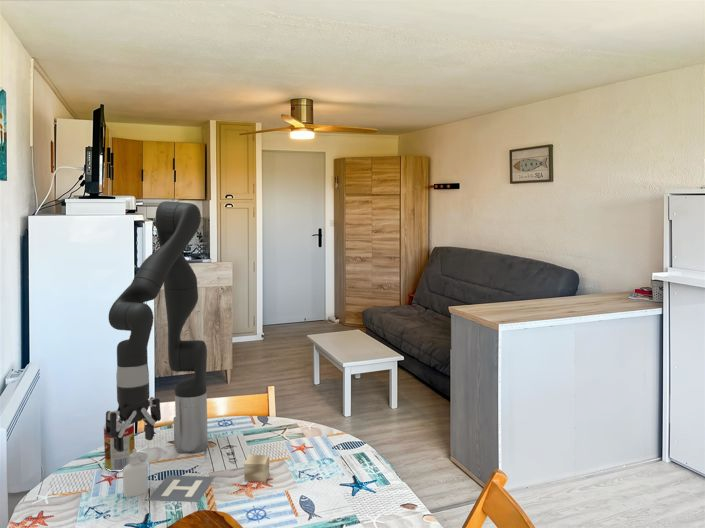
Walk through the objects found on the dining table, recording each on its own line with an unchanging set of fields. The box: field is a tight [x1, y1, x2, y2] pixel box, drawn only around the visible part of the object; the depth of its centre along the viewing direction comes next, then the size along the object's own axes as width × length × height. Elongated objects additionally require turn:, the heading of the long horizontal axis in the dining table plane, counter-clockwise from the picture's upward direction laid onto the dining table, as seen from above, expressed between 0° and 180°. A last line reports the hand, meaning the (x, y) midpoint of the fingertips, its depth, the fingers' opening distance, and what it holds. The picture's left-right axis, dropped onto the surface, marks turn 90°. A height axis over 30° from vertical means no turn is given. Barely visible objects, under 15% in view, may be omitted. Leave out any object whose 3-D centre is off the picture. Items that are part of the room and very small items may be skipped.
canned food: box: [103, 419, 136, 470], centre depth 154 cm, size 8×8×12 cm
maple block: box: [243, 454, 270, 485], centre depth 147 cm, size 6×6×6 cm
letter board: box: [147, 474, 216, 503], centre depth 141 cm, size 13×13×1 cm
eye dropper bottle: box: [122, 448, 149, 498], centre depth 138 cm, size 4×6×12 cm
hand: (134, 445), depth 137 cm, fingers open, 8 cm apart
